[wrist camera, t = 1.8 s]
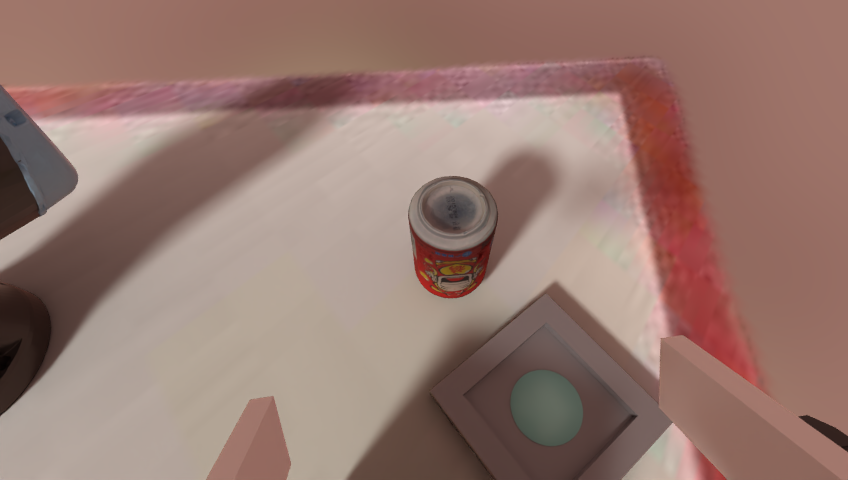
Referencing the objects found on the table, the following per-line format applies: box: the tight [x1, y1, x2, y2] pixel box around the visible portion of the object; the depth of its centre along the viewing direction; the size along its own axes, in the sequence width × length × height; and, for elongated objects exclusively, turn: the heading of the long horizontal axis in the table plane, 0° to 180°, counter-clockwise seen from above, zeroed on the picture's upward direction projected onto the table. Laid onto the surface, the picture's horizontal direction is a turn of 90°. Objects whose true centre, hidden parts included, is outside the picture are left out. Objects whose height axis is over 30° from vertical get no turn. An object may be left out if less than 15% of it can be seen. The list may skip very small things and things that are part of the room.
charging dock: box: [430, 293, 673, 480], centre depth 34 cm, size 14×14×2 cm
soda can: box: [408, 176, 498, 298], centre depth 36 cm, size 7×7×12 cm
